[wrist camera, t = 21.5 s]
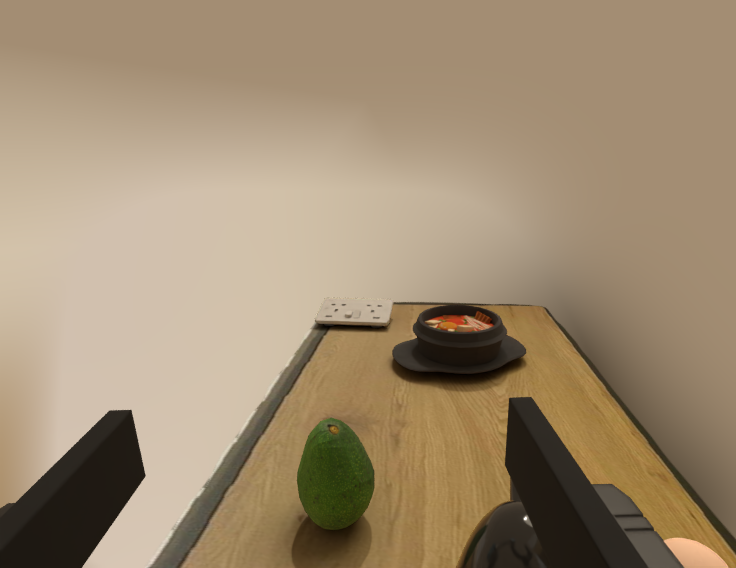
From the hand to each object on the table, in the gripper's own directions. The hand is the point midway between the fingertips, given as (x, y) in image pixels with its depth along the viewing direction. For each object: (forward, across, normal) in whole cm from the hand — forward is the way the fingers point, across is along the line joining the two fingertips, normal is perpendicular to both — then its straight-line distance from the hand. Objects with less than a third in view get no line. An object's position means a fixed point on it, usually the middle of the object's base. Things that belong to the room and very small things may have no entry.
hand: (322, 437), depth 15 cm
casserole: (+61, +18, -28) cm, 70 cm away
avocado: (+24, -2, -28) cm, 37 cm away
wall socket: (+82, -2, -28) cm, 87 cm away
